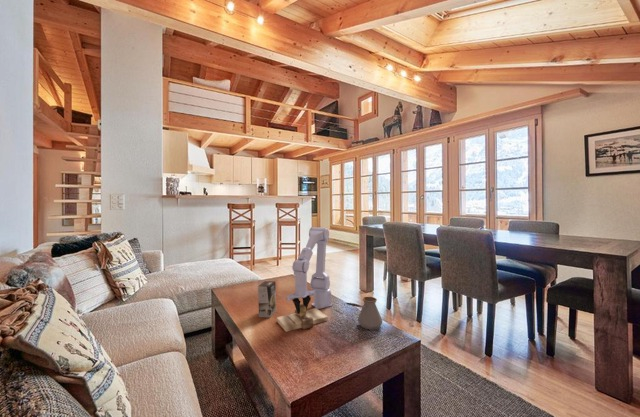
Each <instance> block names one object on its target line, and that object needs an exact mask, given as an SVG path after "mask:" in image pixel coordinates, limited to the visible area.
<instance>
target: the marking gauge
mask: <svg viewBox="0 0 640 417" xmlns="http://www.w3.org/2000/svg"><path fill="white" fill-rule="evenodd" d="M294 313H296V314H297V315H298V316H299V317H300V318H301V319H302V328H301V329H302V330H306V329H309V328H313V327H314V324H313V318H312V317H309V318H308V317H307V316H306V306H304V305H303V303H300V314H298V313H297V311H296V309H294Z"/></svg>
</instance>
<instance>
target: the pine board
mask: <svg viewBox="0 0 640 417" xmlns="http://www.w3.org/2000/svg"><path fill="white" fill-rule="evenodd" d="M306 316H307V317H308V318H309V317H312V318H313V325H316V324H320V323H323V322H327V321H329V318H328V317H329V316H328V315H326V314H325V313H324V312H322V311H321V310H319V309H317V308H315V307H314V308H310V309H307V311H306ZM276 322H277V323H278V325H280V327H281V328H282V329H283V330H284V331H285V332H286V333H287V332H291V331H294V330H295V331H296V330H298V329H303V328H302V319H301V318H300V317H299V316H298V315H297V314H296V313H295V312H294V313H289V314H285V315H281V316H277V317H276Z"/></svg>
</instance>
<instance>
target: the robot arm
mask: <svg viewBox="0 0 640 417" xmlns="http://www.w3.org/2000/svg"><path fill="white" fill-rule="evenodd" d="M329 237H330V232H329V229H328V228H327V227H317V226H316V227H314V226H312V227H310V228H309V231H308V240H307V242H306V245H305V247H303V248H302V250H301V251H300V253H299V255H298V257H297V259H296V260H294V261H293V262H292V267H291V268H292V272H293V275H294V292H293V293H292V294H288V295H286V301H287V302H290V301H291V300H292V303H293V304H294V307H295V310H296V311H297V313H298V314H300V304H301V302H302V304H303V305H304V306H306V311H307V310H308V308H309V304H310V302H311V300H312V297H311V296H313V302H312V303H311V305H312V306H313V307H314V308H317V309H318V310H319V309H324V308H328V307H332V306H333V304H332V292H331V289H330V285H331V281H330V276H329V274H327V273H326V252H327V251H326V249H327V243H329V241H330V238H329ZM316 245H317V246H316ZM315 246H316V262H315V272H314V273H313V274H312V275H311V278H310V288H311V289H312V290H308V278H307V277H308V271H309V268H310V262H311V258H312V256H313V254H314V252H313V250H314V248H315ZM300 299H302V301H301V300H300Z"/></svg>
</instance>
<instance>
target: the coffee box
mask: <svg viewBox="0 0 640 417" xmlns="http://www.w3.org/2000/svg"><path fill="white" fill-rule="evenodd" d="M257 292H258V294H257V295H258V300H257V301H258V317H259V318H265V319H266V318H268V319H269V318H271V317H272V316H273V314H275V312H277V301H276V300H277V298H276V297H277V294H276V292H277V291H276V280H275V281H272V280H268V281H267V280H264V281H263V282H262V283H260V284H259V285H258V287H257Z"/></svg>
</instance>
